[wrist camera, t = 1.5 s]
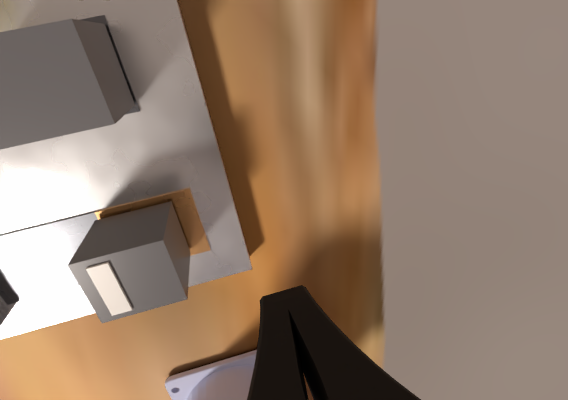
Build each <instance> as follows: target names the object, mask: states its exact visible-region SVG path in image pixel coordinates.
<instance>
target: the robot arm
mask: <svg viewBox="0 0 568 400" xmlns="http://www.w3.org/2000/svg"><path fill="white" fill-rule="evenodd" d="M303 373H304V374H303ZM304 375H305V378H306V380H307V383H308V386H309V388H310V391H311V393H312V396H313V399H314V400H421V399H419V398H418V397H416V396H415V395H414V394H413V393H411V392H410V391H409V390H407V389H406V388H405V387H404V386H402V385H401V384H400V383H398V382H397V381H396V380H394V379H393V378H392V377H391V376H390V375H389V374H387V373H386V372H385V371H384V370H382V369H381V368H380V367H379V366H378V365H377V364H376V363H374V362H373V361H372V360H371V359H370V358H369V357H368V356H367V355H366V354H364V353H363V352H362V351H361V350H360V349H359V348H358V347H357V346H356V345H355V344H354V343H353V342H352V341H351V340H350V339H349V338H348V337H347V336H346V335H345V334H344V333H343V332H342V331H341V330H340V329H339V328H338V327H337V326H336V325H335V324H334V323H333V322H332V320H331V319H330V318H329V317H328V316H327V315H326V314H325V312H324V311H323V310H322V309H321V308H320V307H319V305H318V304H317V303H316V301H315V300H314V299H313V297H312V296H311V295H310V293H309V292H308V290H307V289H306V287H304V286H302V285H301V286H298V287H294V288H291V289H287V290H284V291H280V292H277V293H273V294H270V295H266V296H263V297H262V298H261V300H260V329H259V338H258V345H257V350H254V351H251V352H248V353H244V354H241V355H238V356H234V357H231V358H228V359H225V360H221V361H218V362H215V363H212V364H208V365H205V366H202V367H198V368H195V369H192V370H189V371H185V372H182V373H179V374H175V375H172V376H170V377H168V378H167V379H166V381H165V388H166V389H167V391H168V393H169V395H170V397H171V399H172V400H308V395H307V390H306V385H305V380H304Z"/></svg>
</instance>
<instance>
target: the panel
mask: <svg viewBox="0 0 568 400" xmlns="http://www.w3.org/2000/svg"><path fill="white" fill-rule="evenodd" d="M67 19H76V20H83V21H89V22H95V23H102V24H105V26H106V29H107V32H108V34H109V37H110V40H111V42H112V45H113V48H114V50H115V53H116V56H117V58H118V61H119V64H120V66H121V69H122V72H123V74H124V77H125V80H126V82H127V85H128V87H129V90H130V93H131V95H132V98H133V101H134V103H135V106H134V107H133V108H132V109H131V110H130V111H128V112H127V113H126V114H125V115H124V116H123V117H122V118H121V119H120V120H119V121H118V122H117V123H116V124H113V125H108V126H104V127H99V128H95V129H91V130H86V131H82V132H77V133H73V134H68V135H64V136H59V137H55V138H50V139H46V140H41V141H37V142H32V143H28V144H23V145H19V146H14V147H10V148H5V149H1V150H0V339H3V338H7V337H11V336H14V335H18V334H21V333H25V332H28V331H32V330H36V329H39V328H43V327H46V326H50V325H54V324H57V323H61V322H64V321H68V320H71V319H75V318H79V317H82V316H86V315H89V314H93V313H96V312H95V311H94V309H93V307H92V306H91V304H90V302H89V300H88V299H87V297H86V295H85V294H84V292H83V290H82V289H81V287H80V285H79V284H78V282H77V280H76V279H75V277H74V275H73V273H72V272H71V270H70V268H69V267H68V264H69V262H70V261H71V259H72V257H73V256H74V254H75V252H76V251H77V249H78V247H79V246H80V244H81V243H82V241H83V239H84V238H85V236H86V234H87V233H88V231H89V229H90V228H91V226H92V225H93V223H94V221H95V220H99V219H103V218H107V217H111V216H115V215H119V214H123V213H126V212H130V211H134V210H138V209H142V208H146V207H150V206H154V205H158V204H162V203H166V202H170V201H171V202H172V205H173V207H174V210H175V212H176V215H177V218H178V220H179V223H180V226H181V228H182V231H183V234H184V236H185V239H186V242H187V244H188V247H189V250H190V252H191V254H190V269H189V283H188V287H190V286H193V285H197V284H200V283H204V282H208V281H211V280H215V279H218V278H222V277H226V276H229V275H233V274H236V273H240V272H243V271H247V270H251V269H252V266H251V261H250V256H249V253H248V249H247V245H246V242H245V238H244V235H243V231H242V228H241V224H240V220H239V217H238V213H237V210H236V206H235V203H234V199H233V195H232V192H231V188H230V185H229V181H228V178H227V174H226V170H225V167H224V163H223V160H222V156H221V153H220V149H219V145H218V142H217V138H216V135H215V131H214V128H213V124H212V120H211V117H210V113H209V110H208V106H207V103H206V99H205V95H204V92H203V88H202V85H201V81H200V78H199V74H198V70H197V67H196V63H195V60H194V56H193V53H192V49H191V45H190V42H189V38H188V35H187V31H186V28H185V24H184V20H183V17H182V13H181V10H180V6H179V3H178V0H0V32H4V31H9V30H14V29H20V28H25V27H30V26H36V25H41V24H46V23H51V22H57V21H62V20H67Z"/></svg>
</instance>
